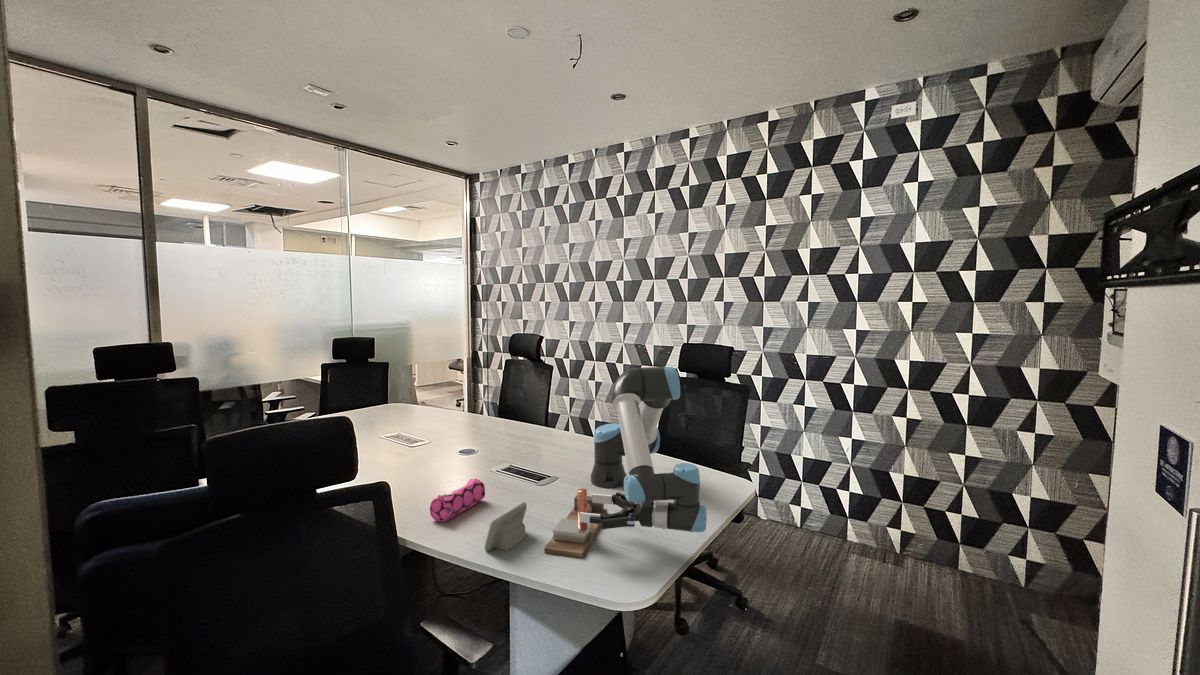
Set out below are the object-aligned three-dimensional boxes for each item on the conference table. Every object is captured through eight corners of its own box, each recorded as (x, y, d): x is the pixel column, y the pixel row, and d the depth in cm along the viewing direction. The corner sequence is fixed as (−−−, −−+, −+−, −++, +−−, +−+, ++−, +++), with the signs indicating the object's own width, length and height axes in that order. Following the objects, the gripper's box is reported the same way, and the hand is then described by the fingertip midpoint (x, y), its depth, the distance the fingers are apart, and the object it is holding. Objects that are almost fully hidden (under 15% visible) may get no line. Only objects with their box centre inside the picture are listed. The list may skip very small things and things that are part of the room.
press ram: (583, 543, 146) (582, 496, 145) (553, 539, 149) (552, 493, 148) (591, 530, 154) (590, 486, 153) (562, 527, 157) (560, 483, 155)
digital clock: (518, 527, 161) (517, 497, 160) (536, 536, 155) (535, 504, 154) (477, 547, 149) (476, 514, 148) (495, 557, 143) (493, 523, 142)
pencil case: (450, 526, 162) (449, 498, 162) (428, 521, 166) (427, 494, 165) (489, 501, 182) (488, 476, 181) (468, 497, 186) (467, 472, 185)
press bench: (582, 558, 141) (581, 538, 141) (544, 552, 145) (543, 534, 144) (607, 513, 170) (607, 496, 170) (575, 509, 173) (575, 493, 173)
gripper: (647, 547, 132) (574, 538, 137) (659, 508, 156) (597, 501, 161) (647, 521, 131) (573, 513, 136) (659, 485, 155) (596, 480, 160)
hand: (586, 507), depth 149 cm, fingers open, 13 cm apart
